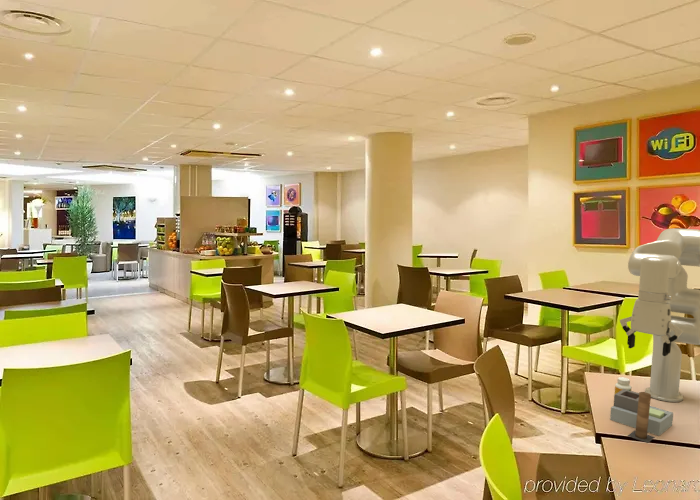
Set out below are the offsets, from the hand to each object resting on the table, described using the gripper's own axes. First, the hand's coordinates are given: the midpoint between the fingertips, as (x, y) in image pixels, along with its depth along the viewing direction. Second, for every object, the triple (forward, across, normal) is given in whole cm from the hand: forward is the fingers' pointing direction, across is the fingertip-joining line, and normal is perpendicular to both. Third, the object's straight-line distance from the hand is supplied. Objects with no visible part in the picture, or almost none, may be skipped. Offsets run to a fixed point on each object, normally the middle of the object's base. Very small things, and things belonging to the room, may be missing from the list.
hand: (648, 351), depth 158 cm
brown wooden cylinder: (+28, 0, 0) cm, 28 cm away
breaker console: (+28, +4, -11) cm, 31 cm away
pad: (+28, 0, 0) cm, 28 cm away
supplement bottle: (+28, +15, -24) cm, 40 cm away
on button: (+28, 0, -11) cm, 30 cm away
